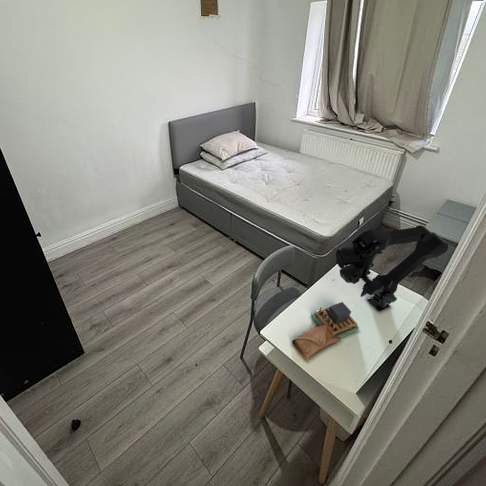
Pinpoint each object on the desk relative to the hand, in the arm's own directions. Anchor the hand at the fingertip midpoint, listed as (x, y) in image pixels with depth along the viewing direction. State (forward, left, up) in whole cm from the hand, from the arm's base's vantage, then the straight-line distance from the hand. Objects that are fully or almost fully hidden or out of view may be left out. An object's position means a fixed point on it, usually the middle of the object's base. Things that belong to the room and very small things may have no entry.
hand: (353, 288), depth 117 cm
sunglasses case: (+22, +9, -12) cm, 27 cm away
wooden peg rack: (+10, +5, -12) cm, 17 cm away
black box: (+10, +5, -8) cm, 14 cm away
